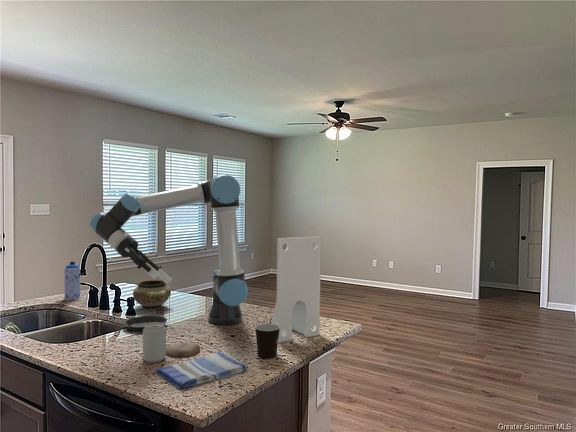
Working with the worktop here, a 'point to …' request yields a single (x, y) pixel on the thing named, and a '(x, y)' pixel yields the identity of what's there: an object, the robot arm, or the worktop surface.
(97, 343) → the worktop surface
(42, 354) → the worktop surface
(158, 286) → the ceramic bowl
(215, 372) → the dish towel
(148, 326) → the can
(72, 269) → the aerosol can
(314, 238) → the arched white panel
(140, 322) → the frying pan
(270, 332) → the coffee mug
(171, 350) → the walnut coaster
